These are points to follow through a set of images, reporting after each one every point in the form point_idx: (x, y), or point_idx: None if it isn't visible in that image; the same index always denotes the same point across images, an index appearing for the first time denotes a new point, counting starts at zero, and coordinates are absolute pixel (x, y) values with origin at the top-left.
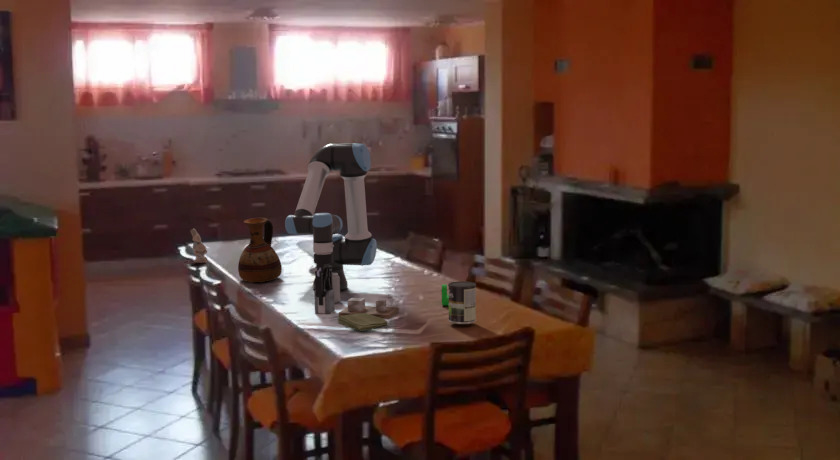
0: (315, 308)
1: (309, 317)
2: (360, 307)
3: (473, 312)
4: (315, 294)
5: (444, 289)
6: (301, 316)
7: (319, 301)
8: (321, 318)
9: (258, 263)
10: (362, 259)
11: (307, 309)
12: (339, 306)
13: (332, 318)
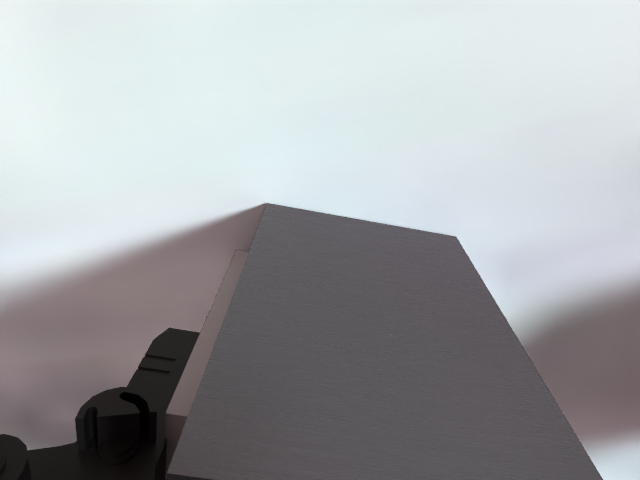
0: (254, 238)
1: (30, 172)
2: None
3: None
4: (197, 402)
5: None
6: (58, 48)
7: (134, 383)
8: (21, 307)
9: None
10: None
11: (549, 49)
12: (630, 395)
13: (53, 396)
